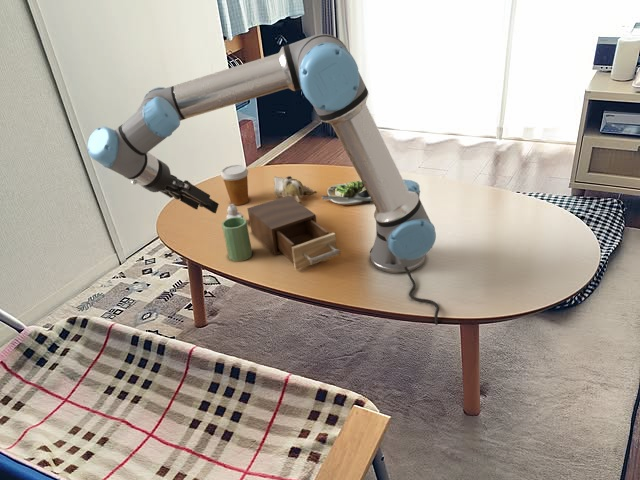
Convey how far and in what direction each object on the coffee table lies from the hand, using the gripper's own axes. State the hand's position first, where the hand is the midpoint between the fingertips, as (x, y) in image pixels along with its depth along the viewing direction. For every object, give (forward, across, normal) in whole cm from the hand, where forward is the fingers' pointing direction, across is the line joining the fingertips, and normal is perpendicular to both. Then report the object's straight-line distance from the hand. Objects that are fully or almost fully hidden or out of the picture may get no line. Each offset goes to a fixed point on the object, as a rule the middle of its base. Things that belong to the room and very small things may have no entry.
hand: (206, 206), depth 152 cm
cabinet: (+32, +6, +3) cm, 32 cm away
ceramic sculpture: (+49, -6, +20) cm, 53 cm away
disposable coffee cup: (+43, -24, +14) cm, 51 cm away
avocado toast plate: (+56, +13, +27) cm, 63 cm away
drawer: (+25, +20, -2) cm, 32 cm away
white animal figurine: (+33, -14, +3) cm, 36 cm away
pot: (+21, 0, -8) cm, 22 cm away
